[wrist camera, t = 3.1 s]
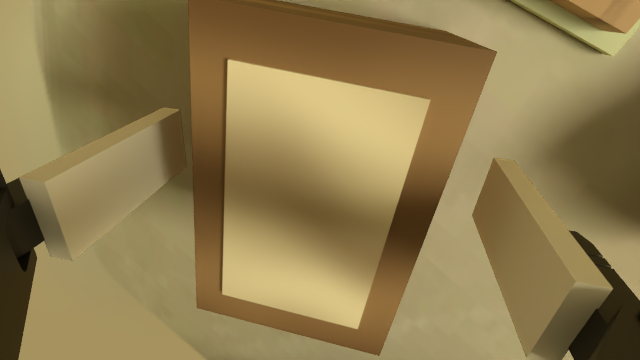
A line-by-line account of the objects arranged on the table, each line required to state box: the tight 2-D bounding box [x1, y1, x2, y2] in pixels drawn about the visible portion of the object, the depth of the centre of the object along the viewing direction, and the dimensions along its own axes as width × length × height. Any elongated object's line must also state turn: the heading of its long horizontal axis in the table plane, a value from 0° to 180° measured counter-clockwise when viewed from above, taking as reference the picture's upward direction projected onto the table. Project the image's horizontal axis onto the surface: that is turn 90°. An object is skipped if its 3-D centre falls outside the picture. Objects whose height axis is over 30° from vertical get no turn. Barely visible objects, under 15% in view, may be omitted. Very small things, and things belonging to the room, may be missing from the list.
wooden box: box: [188, 0, 497, 356], centre depth 15 cm, size 12×8×8 cm, turn 171°
